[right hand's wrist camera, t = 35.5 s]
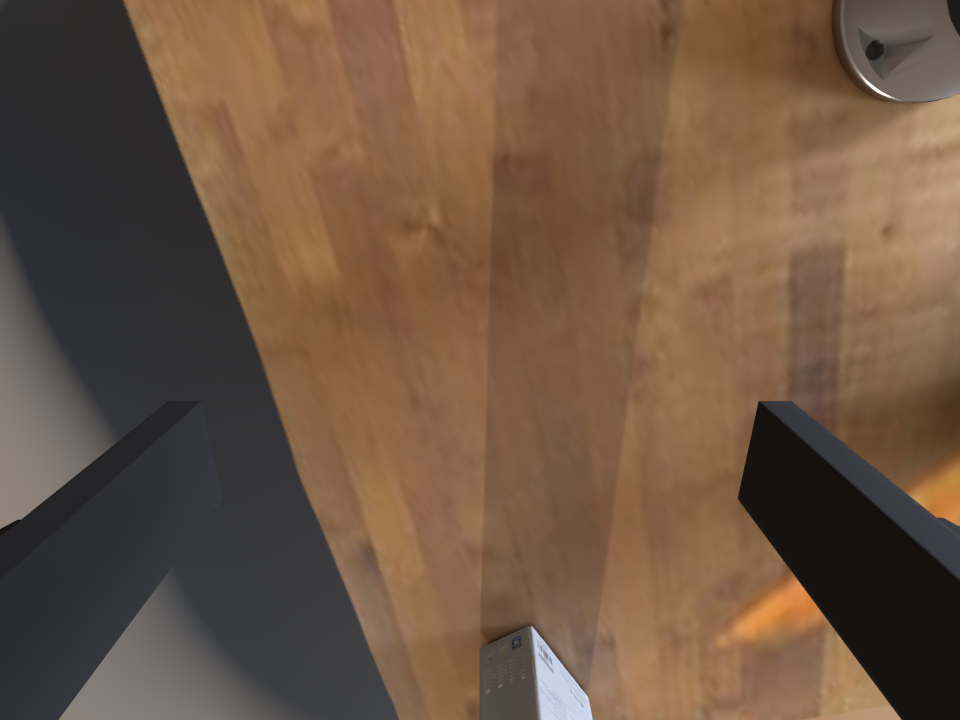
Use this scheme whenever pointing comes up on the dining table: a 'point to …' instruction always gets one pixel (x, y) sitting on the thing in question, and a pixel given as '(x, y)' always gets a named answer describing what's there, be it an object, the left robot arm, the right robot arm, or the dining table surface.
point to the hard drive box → (527, 682)
